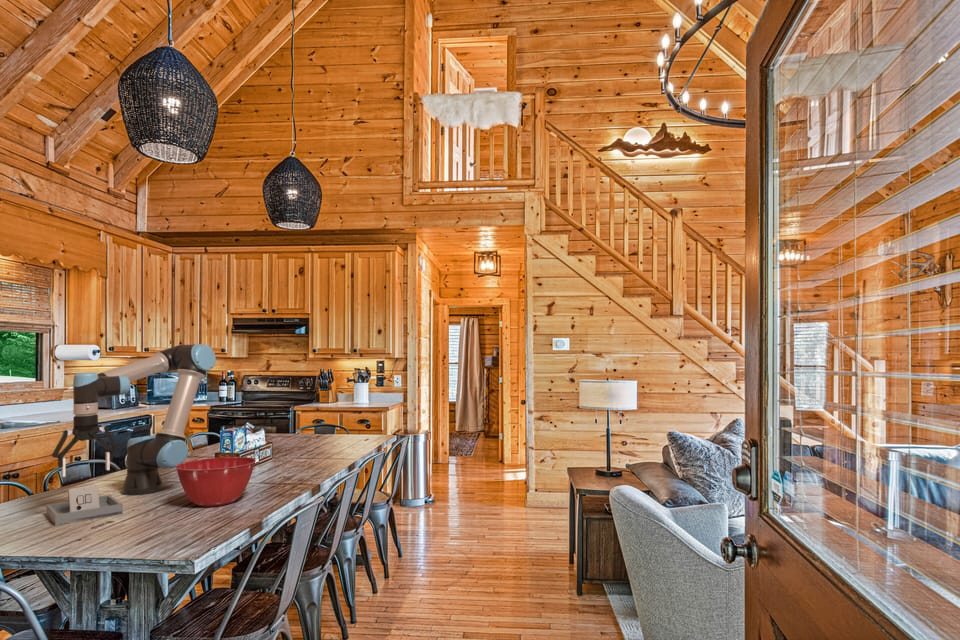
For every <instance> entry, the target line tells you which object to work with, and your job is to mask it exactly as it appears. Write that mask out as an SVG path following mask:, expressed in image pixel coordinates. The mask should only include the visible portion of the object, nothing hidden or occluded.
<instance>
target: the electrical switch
mask: <svg viewBox="0 0 960 640" xmlns="http://www.w3.org/2000/svg"><path fill="white" fill-rule="evenodd" d="M67 495H68V496H67V497H68V502H69V512H75V511H81V510H87V509H93V508H99V507H100V505H99V497H100V495H99V486H98V484H92V485H85V486H78V487H73V488H69V489H67ZM77 507H79V509H77Z"/></svg>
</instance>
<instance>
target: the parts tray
mask: <svg viewBox="0 0 960 640" xmlns="http://www.w3.org/2000/svg"><path fill="white" fill-rule="evenodd" d="M99 505H100V507H99V508H93V509H87V510H81V511H75V512H69V501H65V502H64V501H63V502H58V503H52V504H46V514H47V515H48V516H47V515H46V516H47V517H48V519H49V518H50V519H51V520H52V521H51V520H50V519H49V520H50V521H51V523H52V524H53V523H54V524H55V525H58V526H60V525H59V524H63V525H65V524H64V523H69V522H74V523H76V522H75V521H80V520H85V521H88V520H87V519H91V520H95V519H94V518H96V519H100V517H102V518H106V517H107V516H108V517H113V516H117V515H123V509H124V508H123V507H124V505H123V503H122V502H120V501H119V500H118V499H117V498H116V497H114V496H112V495H111V494H109V495H102V496H99ZM77 509H79V507H77ZM80 522H81V521H80ZM54 524H53V525H54ZM69 524H70V523H69ZM55 525H54V526H55Z"/></svg>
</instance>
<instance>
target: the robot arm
mask: <svg viewBox="0 0 960 640" xmlns="http://www.w3.org/2000/svg"><path fill="white" fill-rule="evenodd" d="M216 361H217V357H216V353H215V351H214V350H213V348H212V347H211V346H210V345H208V344H201V343H196V344H195V343H194V344H178V345H175V346H172V347H170V348H167V349H166V348H165V349H163V350H160V351H157V352H155V353H154V354H153V355H152V356H150V357H146V358H143V359H139V360H136V361H133V362H130V363H127V364H123V365H121V366H118V367H114V368H111V369H108V370H105V371H102V372H100V373H99V372H98V373H97V372H94V371H93V372H77V373H75V374H74V375H73V383H72V389H73V393H72V394H73V411H72V412H73V415H74V417H73V428H72V430H71V429H63V431H62V433H61V434H62V436H61V438H60V439H59V441H58V442H57V445H56V447H55V448H54V450H53V452H52V454H51V457H52V458H54V459H55V458H56V459H57V467H58V468H61V476H62V478H65V477H66V457H65V456H66V454H67V453H69V451H70V450H71V449H72V448H73V447H74V445H75V444H77V443H78V441H81V442H82V441H84V442H85V441H92V440H93V439H94V440H95V441H96V442H98V443H99V444H100V445H101V446H102V448H104V449H105V450H107V451H105V470H106V471H110V470H111V469H110V466H111V465H110V463H111V461H113V459H114V457H113V455H114V454H113V453H114V451H116V450H118V449H119V446H118V445H117V442H116V441H115V440H114V437H112V435H111V433H110V431H109V426H107V425H103V426H99V415H98V414H97V413H98V412H99V403H98V402H99V398H103V397H115V396H116V397H117V396H124V395H126V394H128V393H129V392H130V390H131V382H135V381H138V380H141V379H144V378H147V377H150V376H153V375H156V374H158V373H161V374H166V373H169V372H175V371H176V372H177V374H178V379H177V383H176V385H175V388H174V391H173V394H172V397H171V399H170V403H169V407H168V409H167V413H166V415H165V418H164V422H163V424H162V427H161V429H160V430H158V431H156V434H153V435H145V436H138V437H132V438H130V439H129V440H127V446H126V460H127V461H126V476H125V478H124V481H123V484H122V488H121V494H122V495H124V496H139V495H146V494H152V493H153V494H154V493H157V492H159V491H162V490H163V489H164V482H163V480H162V477H161V473H160V472H159V471H160V470H159V469H164V470H166V469H167V470H168V469H176V466H177V465H179V464H181V463H185V462H186V460H187V457H188V454H189V448H188V445H187V443H186V440H187V437H186V435H185V430H186V428H187V423H188V421H189V417H190V414H191V411H192V407H193V405H194V401H195V398H196V394H197V391H198V388H199V385H200V382H201V380H203V379H205V378H206V376H207V372H208V371H210V370H212V369H213V368H214V367H215V365H216ZM100 431H101V433H104V435H105V437H106V438H107V440H108V442H109V443H110V445H111V446H109V444H107V442H105V441H104V440H103V439H102V438H101V437H100V436H99V435H98V433H99V432H100ZM71 434H72V435H73V438H72V439H71V440H70V442H69V443H67V444H66V446H65V447H64V448H63V446H64V444H65V442H66V441H67V439H68V437H69V436H71ZM62 448H63V449H62ZM61 450H62V451H61Z"/></svg>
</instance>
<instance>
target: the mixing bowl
mask: <svg viewBox="0 0 960 640" xmlns="http://www.w3.org/2000/svg"><path fill="white" fill-rule="evenodd" d="M256 461H257V460H256V458H253V457H249V456H248V457H247V456H246V457H245V456H224V457H223V456H221V457H211V458H210V457H209V458H201V459H195V460H190V461H184V462H183V463H181V464H179V465H177V466H176V467H175V469H176V472H177V475H178V480H179V482H180V484H181V486H182V489H183V491H184V493H185V495H186V497H187V498H188V499H189V501H191V502H192V503H193V504H195V505H197V506H199V507H206V508H207V507H209V508H210V507H218V506H219V507H220V506H224V505H225V506H226V505H230V504H232V503H234V502H235V501H236V500H238V499H239V498H241V497H242V495H243V494H244V492H245V491H246V488H247V486H248V485H249V482H250V479H251V477H252V474H253V471H254V467H255V463H256Z"/></svg>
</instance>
